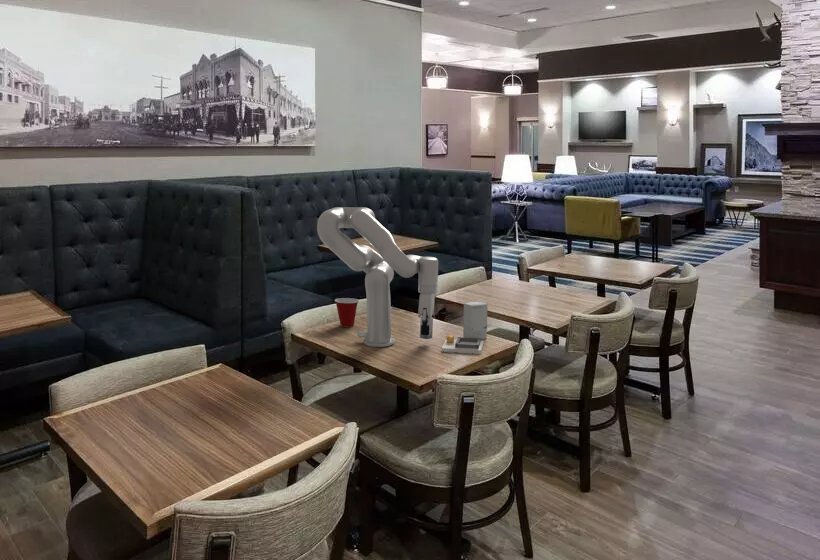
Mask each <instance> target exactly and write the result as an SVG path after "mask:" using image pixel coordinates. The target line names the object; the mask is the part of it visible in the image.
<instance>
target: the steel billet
mask: <svg viewBox="0 0 820 560" xmlns="http://www.w3.org/2000/svg"><path fill="white" fill-rule="evenodd" d="M426 318H428V316H426ZM419 319H420V321H419V323H420V324H419V326H420V327H419V338H420V339H422V340H430V339H433V327H434V317H431V318H429V335H421V322H422V316H421V317H420V318H419ZM426 320H427V319H426Z"/></svg>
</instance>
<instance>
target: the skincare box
mask: <svg viewBox="0 0 820 560" xmlns="http://www.w3.org/2000/svg"><path fill="white" fill-rule="evenodd" d="M462 327H463V330H462V331H463V332H462V333H463V334H462V337H466V338H481V340H484V339H487V335H488V334H487V333H488V331H487V329H488V303H485V302H483V301H471V302H464V303H463V326H462Z"/></svg>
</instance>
